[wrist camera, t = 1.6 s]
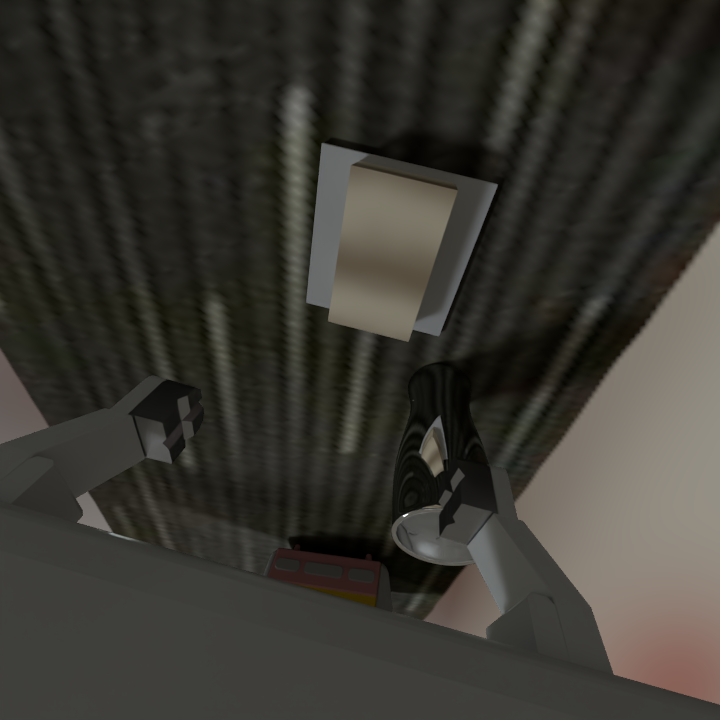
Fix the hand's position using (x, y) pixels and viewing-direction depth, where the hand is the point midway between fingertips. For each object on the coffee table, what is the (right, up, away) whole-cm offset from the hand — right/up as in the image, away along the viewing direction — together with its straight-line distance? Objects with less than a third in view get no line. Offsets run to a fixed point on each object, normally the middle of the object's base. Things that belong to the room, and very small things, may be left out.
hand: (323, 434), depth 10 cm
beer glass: (+9, 0, +23) cm, 24 cm away
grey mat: (+3, +11, +16) cm, 19 cm away
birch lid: (+3, +11, +15) cm, 19 cm away
